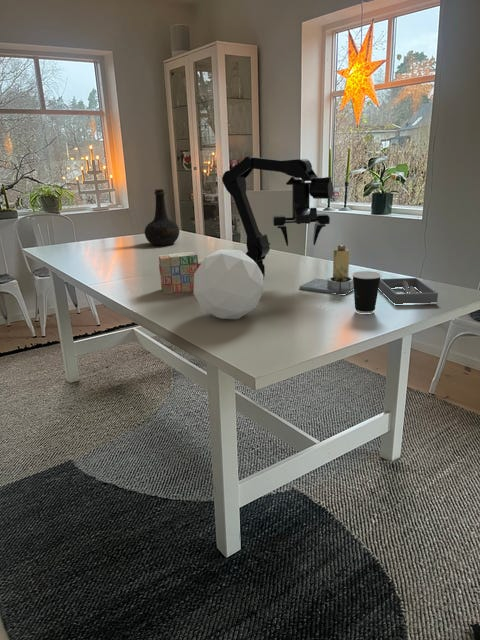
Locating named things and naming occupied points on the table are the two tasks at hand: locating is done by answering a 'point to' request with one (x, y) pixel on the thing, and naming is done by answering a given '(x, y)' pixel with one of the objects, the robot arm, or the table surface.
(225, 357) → the table surface
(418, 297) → the tray
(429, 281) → the table surface
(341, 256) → the gold capped bottle
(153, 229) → the glass bottle
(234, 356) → the table surface
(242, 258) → the ball
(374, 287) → the dixie cup
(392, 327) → the table surface
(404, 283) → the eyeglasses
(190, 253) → the stack of blocks
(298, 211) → the robot arm
